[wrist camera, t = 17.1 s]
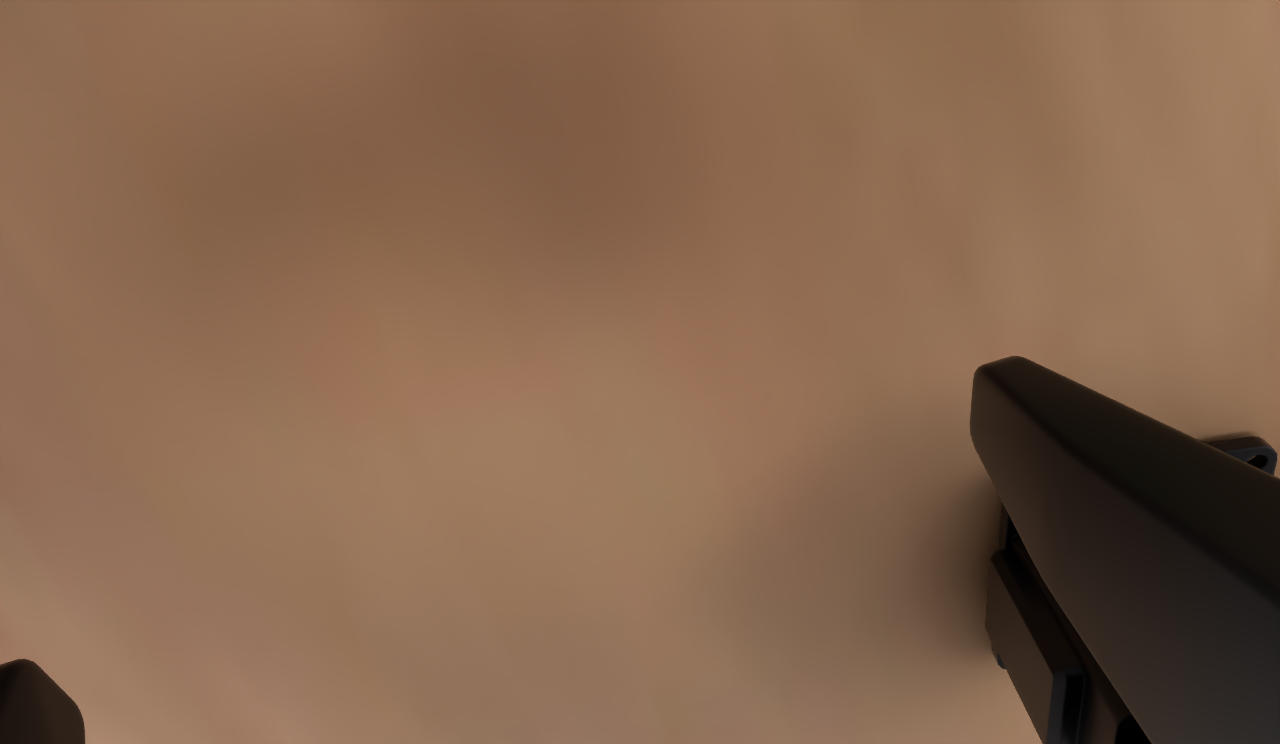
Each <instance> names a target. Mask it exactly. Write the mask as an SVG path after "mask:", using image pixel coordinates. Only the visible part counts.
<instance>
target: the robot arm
mask: <svg viewBox="0 0 1280 744" xmlns="http://www.w3.org/2000/svg"><path fill="white" fill-rule="evenodd" d="M970 432H971V437H972V441H973V444H974V447H975V449H976V451H977V453H978V455H979V457H980V459H981V461H982V463H983V465H984V467H985V469H986V471H987V473H988V475H989V476H990V478H991V480H992V482H993V484H994V486H995V488H996V490H997V492H998V494H999V496H1000V498H1001V500H1002V506H1001V521H1000V536H999V550H995V551H994V553H993V554H992V556H991V558H990V559H989V572H988V588H987V604H986V621H985V626H986V629H987V632H988V634H989V636H990V638H991V640H992V651H993V655H994V657H995V659H996V661H997V663H998V665H999V666H1000V667H1001V668H1003V669H1006V670H1007V672H1008V674H1009V676H1010V678H1011V680H1012V682H1013V684H1014V686H1015V688H1016V690H1017V692H1018V694H1019V696H1020V698H1021V700H1022V702H1023V705H1024V707H1025V709H1026V711H1027V713H1028V715H1029V717H1030V719H1031V721H1032V723H1033V725H1034V727H1035V729H1036V731H1037V733H1038V735H1039V737H1040V739H1041V741H1042V743H1043V744H1280V479H1279V478H1277V477H1275V476H1273V475H1274V471H1275V467H1276V462H1277V453H1276V452H1275V450H1274V449H1273V448H1272V447H1271V446H1270V445H1269V444H1268V443H1267V442H1266V441H1265V440H1264V439H1261V438H1259V437H1246V438H1240V439H1233V440H1226V441H1220V442H1213V443H1206V444H1205V443H1203V442H1201V441H1199V440H1197V439H1195V438H1193V437H1191V436H1189V435H1187V434H1184V433H1182V432H1180V431H1178V430H1176V429H1174V428H1172V427H1170V426H1168V425H1165V424H1163V423H1161V422H1159V421H1157V420H1155V419H1153V418H1151V417H1149V416H1146V415H1144V414H1142V413H1140V412H1138V411H1136V410H1134V409H1132V408H1130V407H1128V406H1125V405H1123V404H1121V403H1119V402H1117V401H1115V400H1113V399H1111V398H1109V397H1106V396H1104V395H1102V394H1100V393H1098V392H1096V391H1094V390H1092V389H1090V388H1087V387H1085V386H1083V385H1081V384H1079V383H1077V382H1075V381H1073V380H1071V379H1068V378H1066V377H1064V376H1062V375H1060V374H1058V373H1056V372H1054V371H1052V370H1050V369H1047V368H1045V367H1043V366H1041V365H1039V364H1037V363H1035V362H1033V361H1031V360H1028V359H1026V358H1024V357H1019V356H1011V357H1007V358H1004V359H1000V360H997V361H994V362H990V363H987V364H984V365H982V366H980V367H978V369H977V370H976V372H975V374H974V378H973V390H972V403H971V416H970ZM1253 456H1255V457H1254V458H1252V457H1253ZM1250 458H1252V459H1251V460H1249V459H1250ZM1248 460H1249V461H1248ZM0 744H85V728H84V722H83V717H82V715H81V712H80V710H79V708H78V706H77V705H76V703H75V702H74V701H73V700H72V699H71V698H70V697H69V696H68V695H67V694H66V693H65V692H64V691H63V690H62V689H61V688H60V687H59V686H58V685H57V684H56V683H55V682H54V681H53V680H52V679H51V678H50V677H49V676H48V675H47V674H46V673H45V672H44V671H43V670H42V669H41V668H40V667H39V666H38V665H37V664H36V663H34V662H33V661H30V660H27V659H17V660H14V661H11V662H7V663H4V664H1V665H0Z"/></svg>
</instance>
